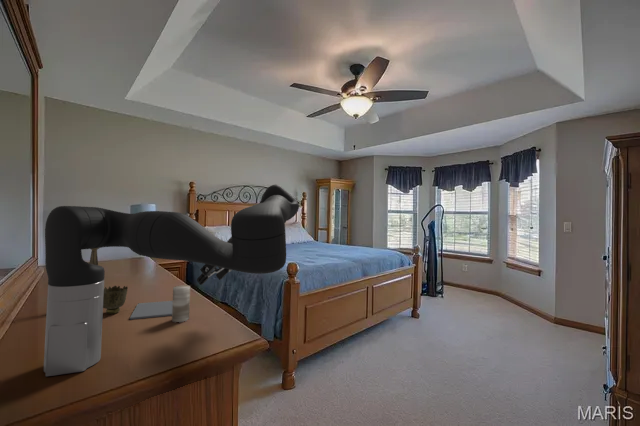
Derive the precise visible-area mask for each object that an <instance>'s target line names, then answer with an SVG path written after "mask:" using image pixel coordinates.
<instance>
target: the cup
mask: <svg viewBox="0 0 640 426" xmlns="http://www.w3.org/2000/svg"><path fill="white" fill-rule="evenodd" d="M127 294H128V285H126V286H125V285H124V286H123V287H121V286H120V285H118V286H117V285H113V286H112V287H111V286H108V288H107V287H106V286H104V296H103V309H105V312H106V314H108V315H114V314H118V313H119V312H120V311H121V307H123V305H124V304H126V299H127Z"/></svg>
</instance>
